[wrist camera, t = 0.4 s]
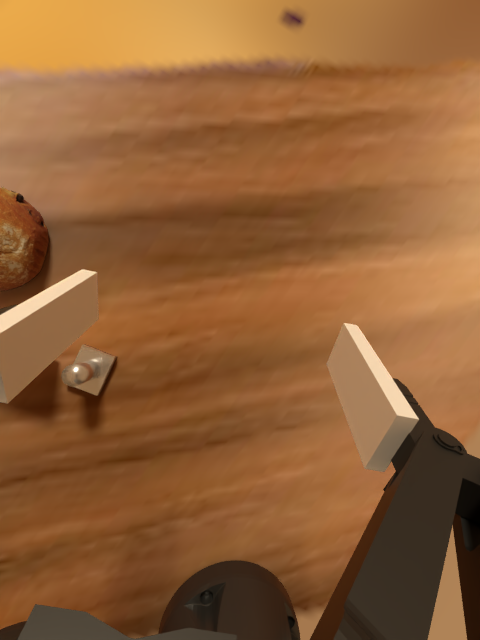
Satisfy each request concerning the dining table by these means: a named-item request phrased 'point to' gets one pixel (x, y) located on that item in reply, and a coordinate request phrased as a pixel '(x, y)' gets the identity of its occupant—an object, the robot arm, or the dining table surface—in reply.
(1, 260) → the bread roll
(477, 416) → the dining table surface
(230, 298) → the dining table surface
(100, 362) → the grey small pieces
